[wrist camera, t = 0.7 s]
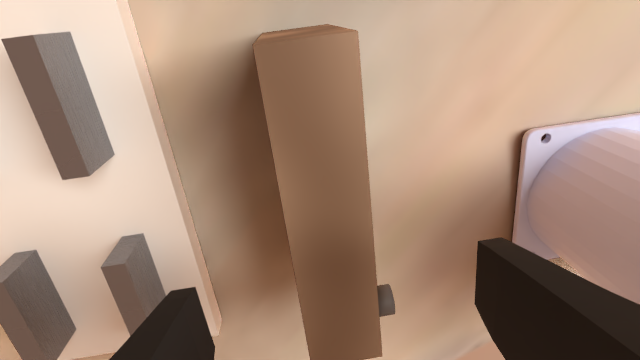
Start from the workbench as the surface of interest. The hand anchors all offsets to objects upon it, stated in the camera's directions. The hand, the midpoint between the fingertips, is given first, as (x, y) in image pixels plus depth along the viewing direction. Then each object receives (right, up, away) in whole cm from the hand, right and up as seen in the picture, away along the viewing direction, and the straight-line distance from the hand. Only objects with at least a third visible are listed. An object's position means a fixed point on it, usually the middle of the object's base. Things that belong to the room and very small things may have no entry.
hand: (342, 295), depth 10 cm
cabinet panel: (-12, +2, +9) cm, 15 cm away
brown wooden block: (-1, +4, +9) cm, 10 cm away
